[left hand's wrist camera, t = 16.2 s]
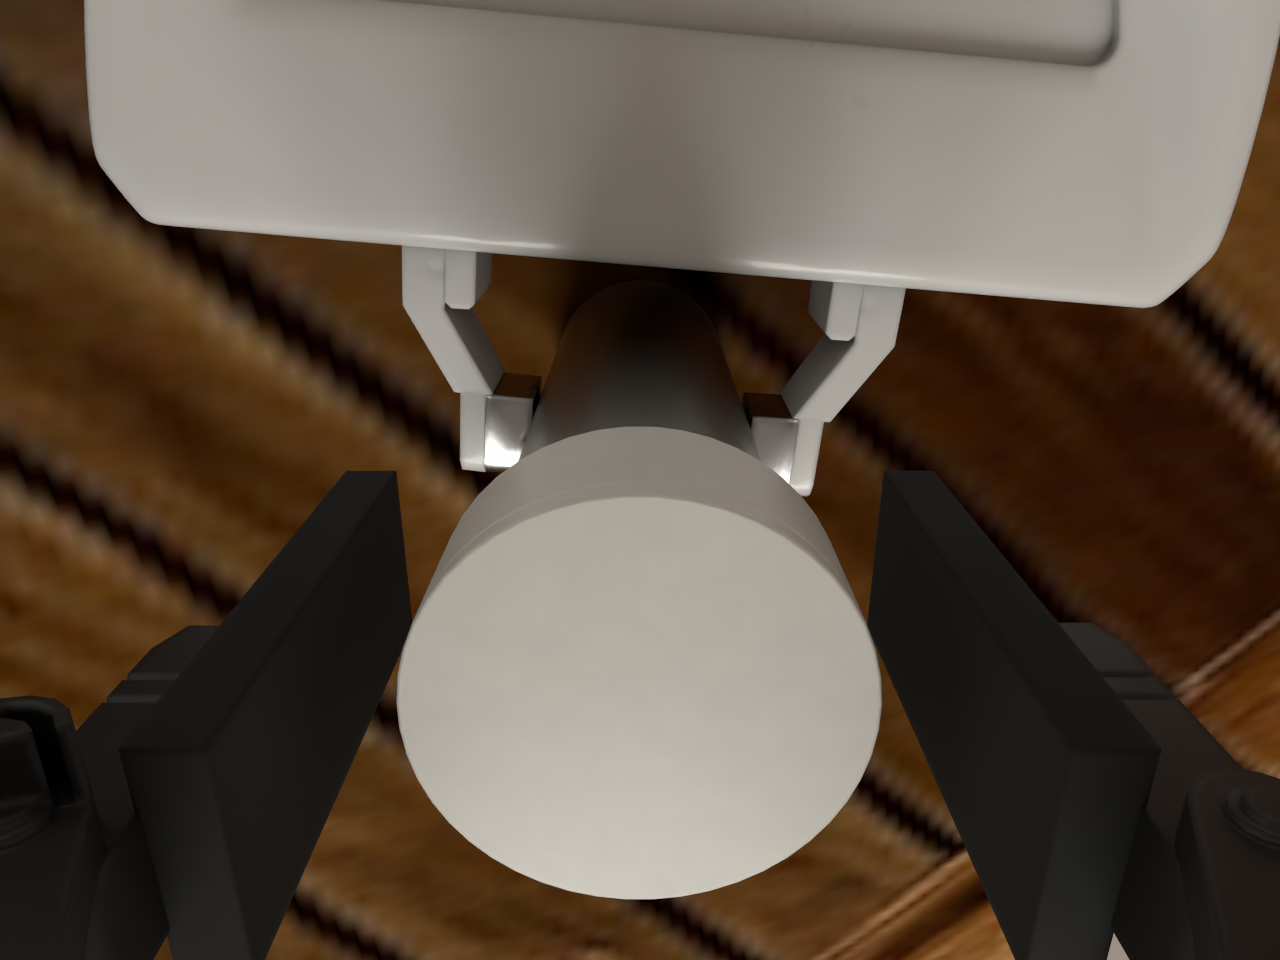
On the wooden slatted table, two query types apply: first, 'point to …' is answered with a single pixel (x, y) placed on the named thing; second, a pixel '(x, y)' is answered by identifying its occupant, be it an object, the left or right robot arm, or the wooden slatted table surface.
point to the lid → (639, 668)
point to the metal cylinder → (639, 370)
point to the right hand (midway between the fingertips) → (638, 474)
